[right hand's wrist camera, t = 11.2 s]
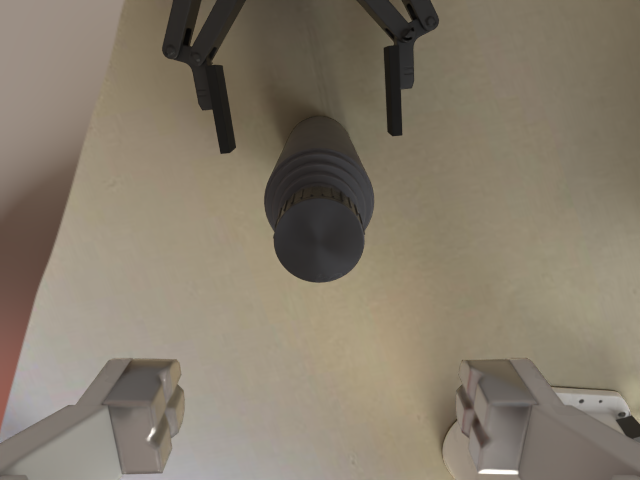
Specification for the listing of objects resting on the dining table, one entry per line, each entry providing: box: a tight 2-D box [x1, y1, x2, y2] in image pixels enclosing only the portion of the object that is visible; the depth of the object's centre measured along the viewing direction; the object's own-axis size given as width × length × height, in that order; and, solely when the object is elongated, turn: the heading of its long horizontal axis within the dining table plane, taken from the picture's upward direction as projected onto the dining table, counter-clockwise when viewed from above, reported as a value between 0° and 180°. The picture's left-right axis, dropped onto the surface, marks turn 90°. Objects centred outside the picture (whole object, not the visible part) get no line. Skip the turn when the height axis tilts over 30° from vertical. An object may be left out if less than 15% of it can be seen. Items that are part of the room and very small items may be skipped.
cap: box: [273, 185, 365, 283], centre depth 20 cm, size 4×4×2 cm
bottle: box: [264, 116, 374, 232], centre depth 31 cm, size 6×6×24 cm
